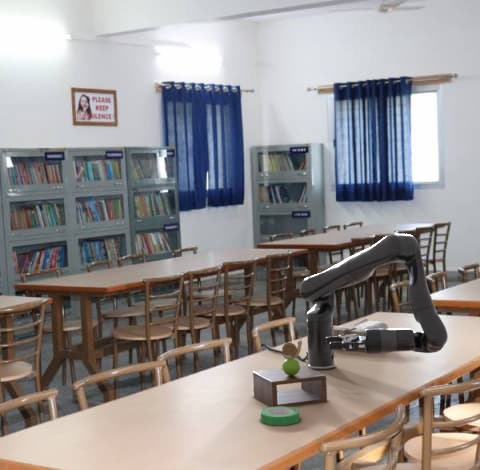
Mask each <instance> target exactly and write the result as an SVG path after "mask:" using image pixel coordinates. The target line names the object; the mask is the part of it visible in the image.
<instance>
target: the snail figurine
mask: <svg viewBox="0 0 480 470" xmlns="http://www.w3.org/2000/svg"><path fill="white" fill-rule="evenodd" d="M299 339H300V340H298V341H297V345H296V344H295V343H293V342H286V343H284V344H283V345H282V347H281V351H283V353H284V354H282V355H281V356H282V357H283V358H284V359H285V360H283V362H282V366H281V368H282V369H283V371H284V373H285V374H287V375H289V376H293V375H296V374H297V373H298V372H299V370H300V366H301V364H300V362H299V360H297V359H296V358H298V357H297V356H298V355H299V356H300V353H301V350H302V345H303V341H302V339H303V338H302V336H300V337H299Z"/></svg>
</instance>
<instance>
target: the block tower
mask: <svg viewBox="0 0 480 470" xmlns="http://www.w3.org/2000/svg"><path fill="white" fill-rule="evenodd" d="M365 330H366V328H358V329H357V328H356V327H351V326H344V325H343V326H342V325H340V326H339V325H333V337H338V336H339V335H340V334H342V335H344V334H358V336H361V337H362V336H364V331H365ZM343 341H344V338H343ZM341 350H343V348H342V349H341ZM357 351H358V352H365V350H356V352H357Z"/></svg>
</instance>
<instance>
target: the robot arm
mask: <svg viewBox="0 0 480 470" xmlns="http://www.w3.org/2000/svg"><path fill="white" fill-rule="evenodd" d="M392 263H401V264H404V266H405V268H406V271H407V274H408V288H407V300H408V303H409V307H410V309H411V312H412V315H413V318H414V319H415V322H416V323H418V324H419V325H420V327H421V330H422V331H414V330H413V329H411V328H385V329H366V330H365V331H364V336H362V337H361V336H358V334H344V335H342V334H340V335H339V336H338V337H333V326H334V321H333V320H334V319H333V315H334V313H335V291H336V290H340V289H345V288H348V287H351V286H355V285H357V284H360V283H362V282H364V281H366V280H368V279H369V278H370V277H371V276H372V275H373V274H374V272H375V270H376V269H378V268H379V267H381V266H384V265H388V264H392ZM299 294H300V296H301V298H302V299H303V300H304V301H306V302H307V303H314V305H313V307H311V309H310V310H308V311H307V312H306V317H305V318H306V336H307V338H306V340H307V351H306V355H305V356H304V358H303V357H302V356H301V355H300V354H299V355H298V356H297V357H296V358H298V359H299V360H300V361H302V362H305V361H307V364H308V365H307V367H309V368H311V369H313V370H331V369H334V368H335V367H336V365H335V357H336V356H335V355H336V354H335V350H342V351H345V352H353V351H356V352H357V350H365V351H364V352H365V354H367V355H371V354H372V355H373V354H391V353H398V352H401V353H402V352H404V353H405V352H414V353H421V354H422V353H423V354H435V353H439V352H440V351H441V350H442V349H443V348H444V347H445V345H446V344H447V342H448V339H449V336H448V331H447V328H446V326H445V324H444V322H443V320H442V318H441V317H440V316H439V314H438V312H437V309H436V306H435V303H434V300H433V297H432V295H431V293H430V290H429V286H428V283H427V278H426V273H425V267H424V263H423V258H422V252H421V247H420V243H419V242H418V240H417V238H416V237H415V236H413V235H411V234H407V233H406V234H405V233H392V234H388V235H385V237H383V238H382V239H380V240H378V241H377V242H376V243H375V244H373V245H371V246H369V247H368V248H366V249H364V250H361V251H359V252H357V253H355V254H353V255H351V256H349V257H347V258H345V259H343V260H342V261H339V262H338V263H336V264H334V265H333V266H331V267H329V268H328V269H326V270H324V271H322V272H320V273H317V274H314V275H310V276H307V277H306V278H304V279H303V280H302V282H301V283H300V286H299ZM343 338H344V341H343ZM260 347H265V348H266V349H268V350H269V351H272V352H274V353H278V354H282V355H285V354H284V353H283V351H282V350H279V349H275V348H273V347H271V346H270V345H268V344H266V343H265V342H262V343H261V345H260ZM342 348H343V349H342Z"/></svg>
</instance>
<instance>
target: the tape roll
mask: <svg viewBox="0 0 480 470" xmlns="http://www.w3.org/2000/svg"><path fill="white" fill-rule="evenodd" d="M299 421H300V410H299V409H298V408H296V407H294V406H288V407H286V406H276V407H270V406H268V407H266V408H263V409H261V411H260V422H261V423H263V424H265V425H268V426H289V425H290V426H291V425H293V424H294V425H295V424H296V423H298V422H299Z"/></svg>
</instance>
